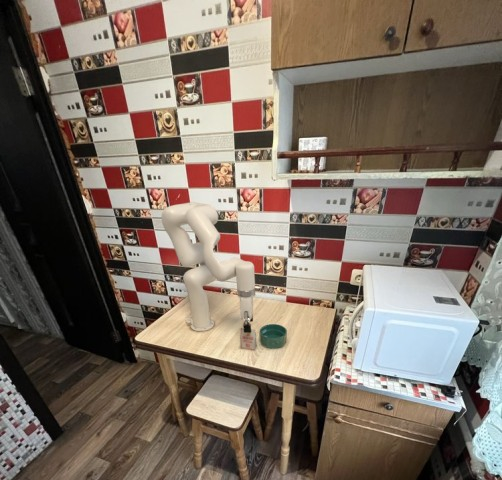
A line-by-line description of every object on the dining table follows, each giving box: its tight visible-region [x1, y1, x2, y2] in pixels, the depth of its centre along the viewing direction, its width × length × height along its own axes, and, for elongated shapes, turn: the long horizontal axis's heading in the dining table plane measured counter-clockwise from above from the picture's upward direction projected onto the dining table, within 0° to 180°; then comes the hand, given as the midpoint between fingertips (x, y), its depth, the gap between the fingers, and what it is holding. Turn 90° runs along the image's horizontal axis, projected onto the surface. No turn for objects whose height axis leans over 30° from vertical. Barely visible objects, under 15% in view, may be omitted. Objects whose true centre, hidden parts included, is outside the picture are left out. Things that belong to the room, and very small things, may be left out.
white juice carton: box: [239, 327, 258, 351], centre depth 129 cm, size 4×7×10 cm, turn 73°
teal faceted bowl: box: [258, 323, 288, 349], centre depth 133 cm, size 13×13×6 cm
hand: (248, 326), depth 125 cm, fingers open, 9 cm apart
